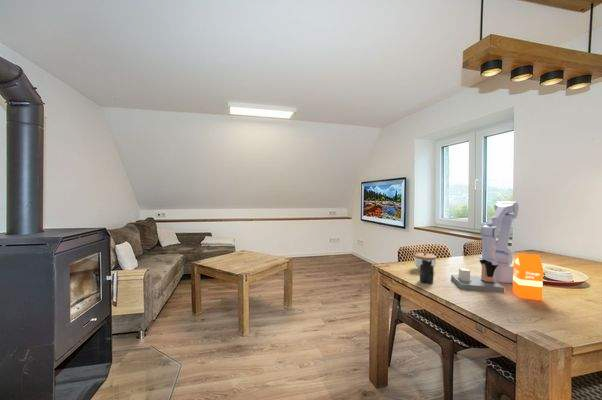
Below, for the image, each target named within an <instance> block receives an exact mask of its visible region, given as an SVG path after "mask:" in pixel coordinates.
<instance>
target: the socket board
mask: <svg viewBox="0 0 602 400" xmlns="http://www.w3.org/2000/svg"><path fill="white" fill-rule="evenodd" d="M450 277H451V278H450V280H451V281H452V282H454V283H455V285H457V287H458V288H459V289H460V290H465V291H466V290H467V291H478V292H479V291H480V292H490V293H505V287H504V286H503V285H501V284H500V283H499V282H496V281H493V282H491V281H484V280H483V279H481V276H478V275H474V276H473V275H471V270H470V269H468V268H463V267H462V268H461V267H459V269H458V274H451V275H450Z"/></svg>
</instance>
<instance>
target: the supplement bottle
mask: <svg viewBox="0 0 602 400" xmlns="http://www.w3.org/2000/svg"><path fill="white" fill-rule="evenodd" d="M431 264H432V260H429V259H422V264H421V265H420V270H419V282H421V283H422V284H428V285H429V284H430V285H431V284H433V283H434V274H435V273H434V272H435V271H434V268H435V267H433V266H432V265H431Z"/></svg>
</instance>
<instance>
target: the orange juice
mask: <svg viewBox="0 0 602 400" xmlns="http://www.w3.org/2000/svg"><path fill="white" fill-rule="evenodd" d="M513 268H514V271H513V283H512V293H513V294H515V295H516V297H518V298H520V299H529V300H538V301H542V300H543V288H544V286H543V284H544V283H543V282H544V281H543V280H544V279H543V278H544V268H543V263H542V259H541V255H540V254H535V253H534V254H533V253H520V252H518V253H516V256H515V259H514V260H513Z"/></svg>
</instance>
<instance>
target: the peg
mask: <svg viewBox="0 0 602 400" xmlns="http://www.w3.org/2000/svg"><path fill="white" fill-rule="evenodd" d="M480 277H481V279H483V280H484V281H491V282H493V281H494V274H493V277H488V276H487V270H486V266H485V264H482V265H481V275H480Z"/></svg>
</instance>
